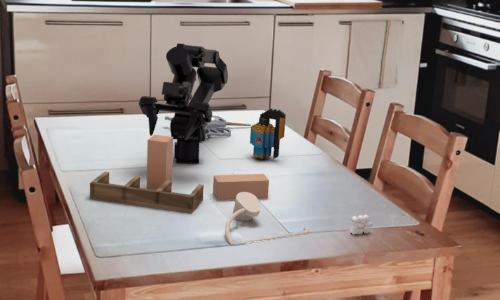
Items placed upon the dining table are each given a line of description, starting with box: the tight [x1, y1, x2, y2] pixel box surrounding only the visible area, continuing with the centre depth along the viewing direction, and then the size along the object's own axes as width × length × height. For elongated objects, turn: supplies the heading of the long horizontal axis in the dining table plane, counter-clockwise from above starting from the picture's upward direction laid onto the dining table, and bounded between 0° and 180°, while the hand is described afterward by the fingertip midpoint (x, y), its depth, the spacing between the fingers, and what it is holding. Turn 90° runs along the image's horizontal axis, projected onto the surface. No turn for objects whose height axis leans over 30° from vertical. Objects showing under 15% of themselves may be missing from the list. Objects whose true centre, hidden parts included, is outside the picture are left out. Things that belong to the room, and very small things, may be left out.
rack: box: [89, 171, 204, 214], centre depth 200 cm, size 9×26×4 cm, turn 77°
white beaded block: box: [349, 214, 373, 236], centre depth 187 cm, size 5×1×4 cm, turn 115°
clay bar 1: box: [146, 134, 174, 190], centre depth 207 cm, size 5×5×13 cm
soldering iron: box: [164, 115, 252, 139], centre depth 257 cm, size 6×28×16 cm
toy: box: [249, 108, 286, 161], centre depth 234 cm, size 10×10×15 cm
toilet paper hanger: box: [224, 192, 310, 244], centre depth 188 cm, size 20×5×16 cm
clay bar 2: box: [212, 173, 270, 201], centre depth 206 cm, size 13×5×5 cm, turn 105°
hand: (167, 137), depth 210 cm, fingers open, 9 cm apart
